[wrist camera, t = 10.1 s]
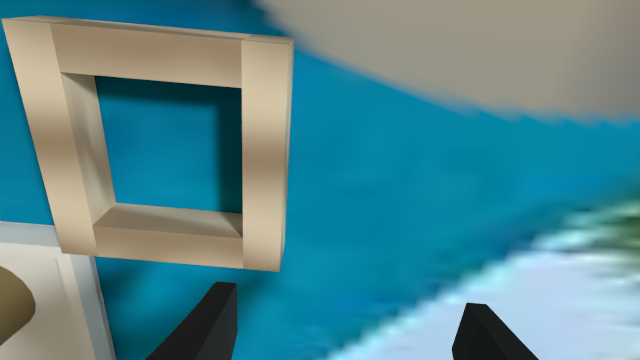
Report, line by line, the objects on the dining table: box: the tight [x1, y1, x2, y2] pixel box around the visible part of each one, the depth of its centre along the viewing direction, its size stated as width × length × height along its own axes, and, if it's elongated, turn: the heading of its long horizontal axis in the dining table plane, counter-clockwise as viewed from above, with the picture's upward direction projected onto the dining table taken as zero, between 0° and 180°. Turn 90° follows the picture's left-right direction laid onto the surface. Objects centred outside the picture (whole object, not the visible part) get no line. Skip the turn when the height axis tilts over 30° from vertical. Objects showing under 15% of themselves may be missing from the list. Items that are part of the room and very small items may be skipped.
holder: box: [2, 16, 294, 272], centre depth 20 cm, size 12×12×2 cm
